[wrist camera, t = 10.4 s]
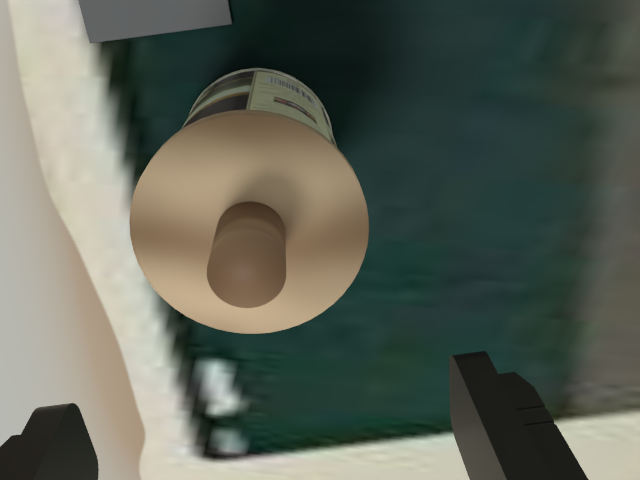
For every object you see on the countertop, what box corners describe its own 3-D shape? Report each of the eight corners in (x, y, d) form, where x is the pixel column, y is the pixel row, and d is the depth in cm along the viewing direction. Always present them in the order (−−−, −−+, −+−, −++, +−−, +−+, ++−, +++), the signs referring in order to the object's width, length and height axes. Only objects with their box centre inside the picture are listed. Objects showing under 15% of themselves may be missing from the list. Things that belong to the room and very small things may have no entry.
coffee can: (188, 211, 44) (149, 313, 31) (181, 64, 39) (134, 112, 27) (330, 214, 44) (350, 316, 32) (338, 70, 40) (366, 120, 27)
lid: (108, 127, 27) (71, 163, 22) (353, 93, 27) (369, 121, 22) (165, 334, 31) (145, 399, 27) (374, 305, 31) (391, 365, 27)
